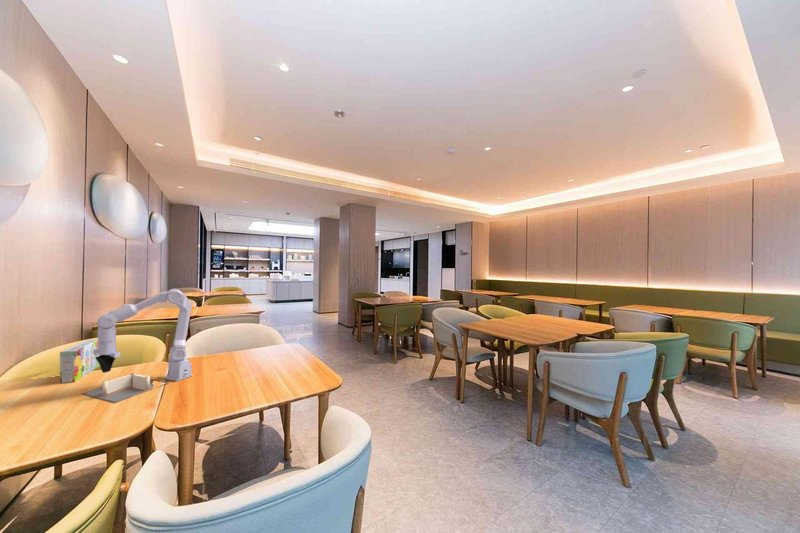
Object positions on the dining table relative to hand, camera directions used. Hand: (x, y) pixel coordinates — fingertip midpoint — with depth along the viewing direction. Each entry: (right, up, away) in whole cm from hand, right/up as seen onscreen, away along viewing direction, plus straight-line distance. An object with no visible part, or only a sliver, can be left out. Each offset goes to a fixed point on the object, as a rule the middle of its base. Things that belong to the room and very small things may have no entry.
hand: (106, 371), depth 126 cm
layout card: (+7, -9, +3) cm, 11 cm away
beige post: (+6, -8, 0) cm, 10 cm away
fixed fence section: (+13, -8, +3) cm, 16 cm away
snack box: (-29, -8, +16) cm, 34 cm away
